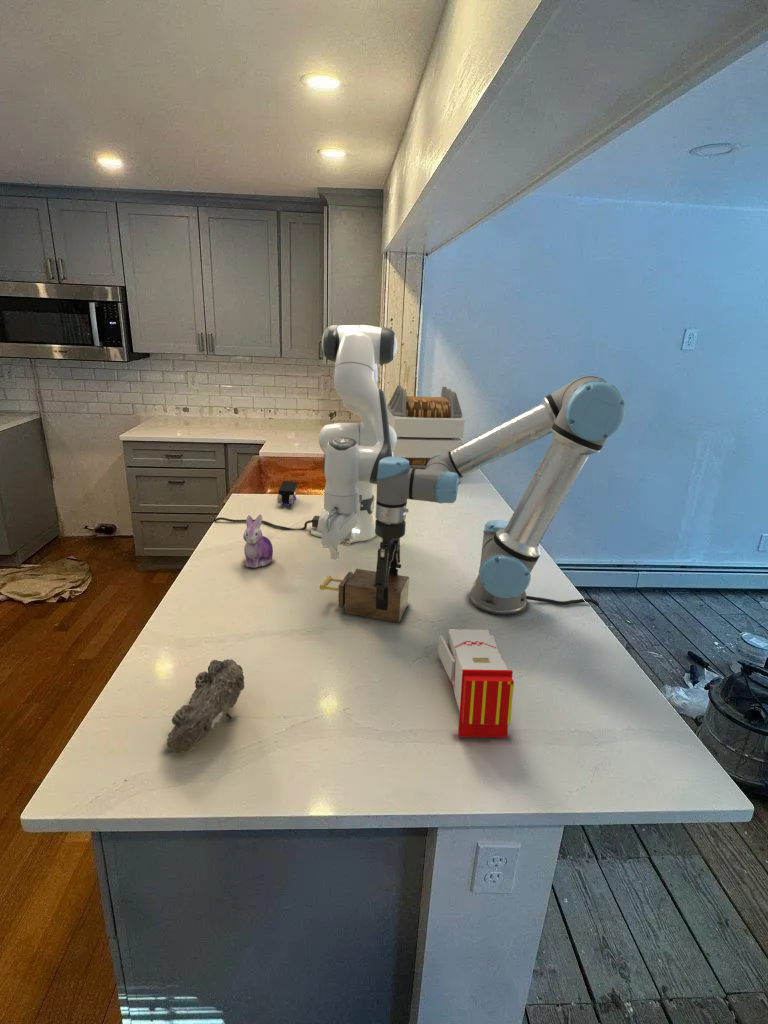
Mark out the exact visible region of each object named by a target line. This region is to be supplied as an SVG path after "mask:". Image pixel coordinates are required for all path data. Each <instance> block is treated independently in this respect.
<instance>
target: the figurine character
mask: <svg viewBox="0 0 768 1024" xmlns="http://www.w3.org/2000/svg"><path fill="white" fill-rule="evenodd" d="M298 483H299V481H292V480H282V482H281V485H280V487H279V489H278V493H277V498H276V499H277V500H276V501H277V504H279V505H280V504H281V505H280V506H281V508H284V507H285V506H288V509H290V508H291V506H292V505H293V504H294V503H295V501H296V500H297V492H296V489H297V486H298Z"/></svg>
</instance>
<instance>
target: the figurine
mask: <svg viewBox="0 0 768 1024" xmlns="http://www.w3.org/2000/svg"><path fill="white" fill-rule="evenodd" d="M245 520H246V521H247V522H245V523H246V529H245V530H244V533H243V536H242V537H243V540H244V542H245V545H244V547H243V552H244V557H245V567H247V568H254V569H255V568H259V567H264V566H267V565H269V564H270V563H272V561H273V555H274V549H273V544H272V542H271V540H270V538H268V537H266V536H264V535H263V532H262V529H261V525H262V523H261V522H262V520H263V514H259V515H257V517H256V518H255V519H253V518H252V515H247V517H246V519H245ZM253 520H255V521H253Z"/></svg>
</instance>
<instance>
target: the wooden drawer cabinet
mask: <svg viewBox="0 0 768 1024" xmlns="http://www.w3.org/2000/svg"><path fill="white" fill-rule="evenodd" d="M375 578H376V570H375V571H374V570H368V569H361V568H356V569H355V570H354V571H353V575H352V576H351V577H350V579H349V580H348V581H347V583H346V584H345V605H344V614H349V615H354V616H359V617H360V616H361V617H366V618H371V619H378V620H382V621H389V622H395V623H400V621H401V619H402V618H403V615H404V613H405V611H406V608H407V607H408V602H409V601H408V600H409V588H410V587H409V585H410V576H406V575H402V574H401V575H400V574H398V575H394V574H389V576H388V582H387V586H388V599H387V610H386V611H385V610H380V609H376V596H377V588H375V587H374V586H373V585H374V584H375Z"/></svg>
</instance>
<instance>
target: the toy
mask: <svg viewBox="0 0 768 1024" xmlns="http://www.w3.org/2000/svg"><path fill="white" fill-rule="evenodd" d="M446 640H447V643H446V641H445V639H444V636H443V635H442V634H439V637H438V646H437V656H438V657H439V659H440V661H441V663H442V666H443V668H444V670H445V672H446V674H447V677H448V679H449V681H450V684H451V687H452V690H453V693H454V697H455V701H456V705H457V708H458V711H459V714H458V715H459V716H458V730H457V731H458V732H457V737H458V738H508V731H509V726H510V725H511V717H512V707H513V697H514V696H513V695H514V684H515V680H514V679H513V673H514V671H513V670H512V669H508V667H507V665H506V662H505V661H504V659H503V658H502V655H501V653H500V651H499V649H498V647H497V643H496V639H495V637H494V635H493V634H491V632H490V631H489V629H467V628H466V629H465V628H463V629H461V628H460V629H459V628H448V630H447V639H446Z"/></svg>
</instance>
